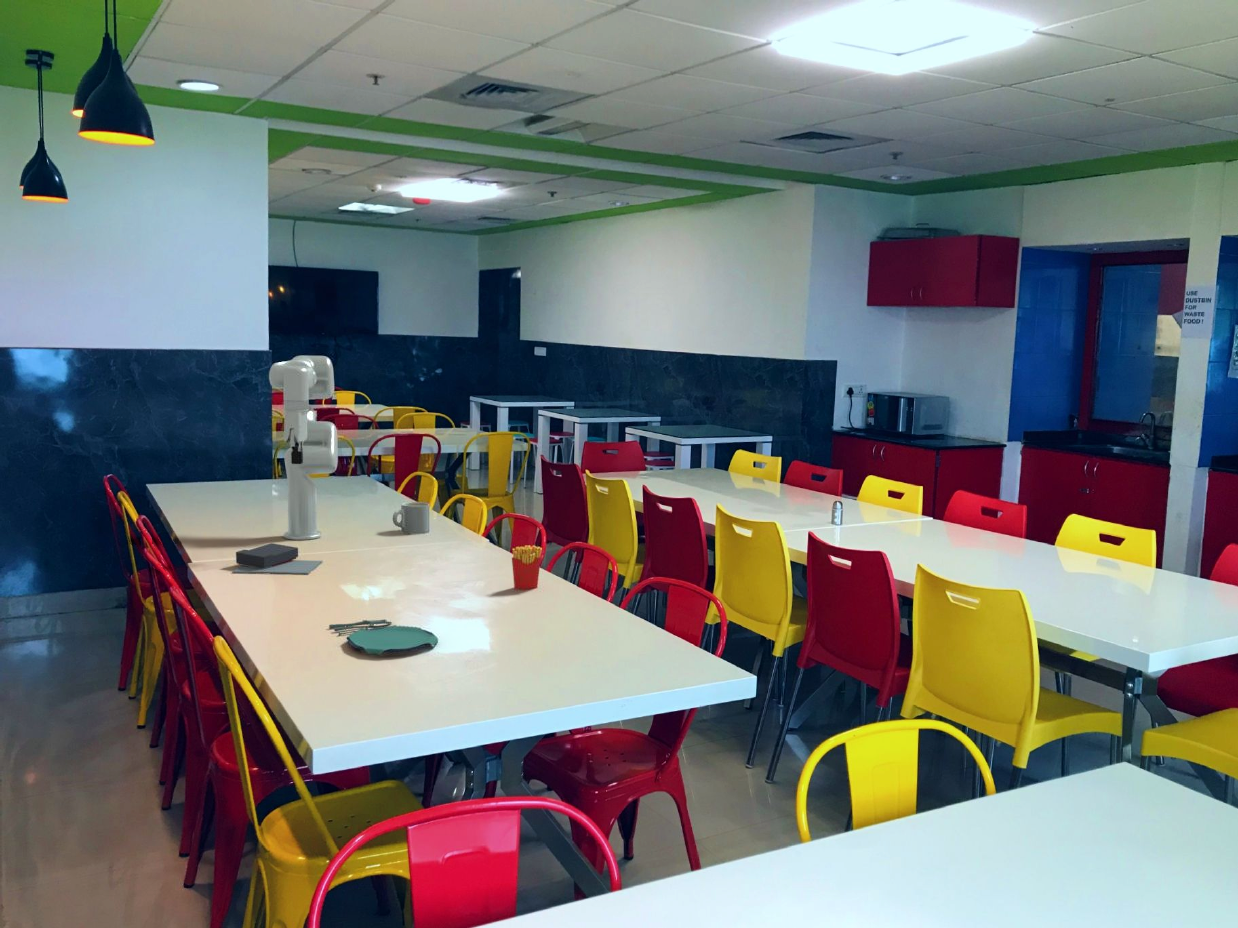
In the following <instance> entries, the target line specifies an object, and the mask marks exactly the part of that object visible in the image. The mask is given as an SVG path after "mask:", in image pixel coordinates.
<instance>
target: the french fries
mask: <svg viewBox="0 0 1238 928" xmlns="http://www.w3.org/2000/svg"><path fill="white" fill-rule="evenodd" d="M542 553H543V548H542V547H540V546H536V545H534V544H533V545H532V546H531V545H530V544H529V545H524V546H516V547H515V548H512V555H513V556H512V557H511V564H512V574H513V576H512V577H513V588H514V589H515V590H521V591H522V590H535V589H537V588H538V584H539V576H540V565H541V555H542Z"/></svg>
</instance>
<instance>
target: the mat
mask: <svg viewBox="0 0 1238 928" xmlns="http://www.w3.org/2000/svg"><path fill="white" fill-rule="evenodd" d="M321 564H323V560H305V559H304V560H301V559H299V560H297V559H294V560H291V561H288V562H285V563H282V564H279V565H276V566H271V567H268V568H265V569H261V568H255V567H250V566H244V565H239V567H237V568H236V569H234V570H232V574H256V573H270V574H271V575H272V573H273V575H310V574H311V573H312V572H313V571H314V570H315V569H316V568H318V567H319V566H320V565H321ZM311 571H312V572H311ZM270 574H269V575H270Z"/></svg>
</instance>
